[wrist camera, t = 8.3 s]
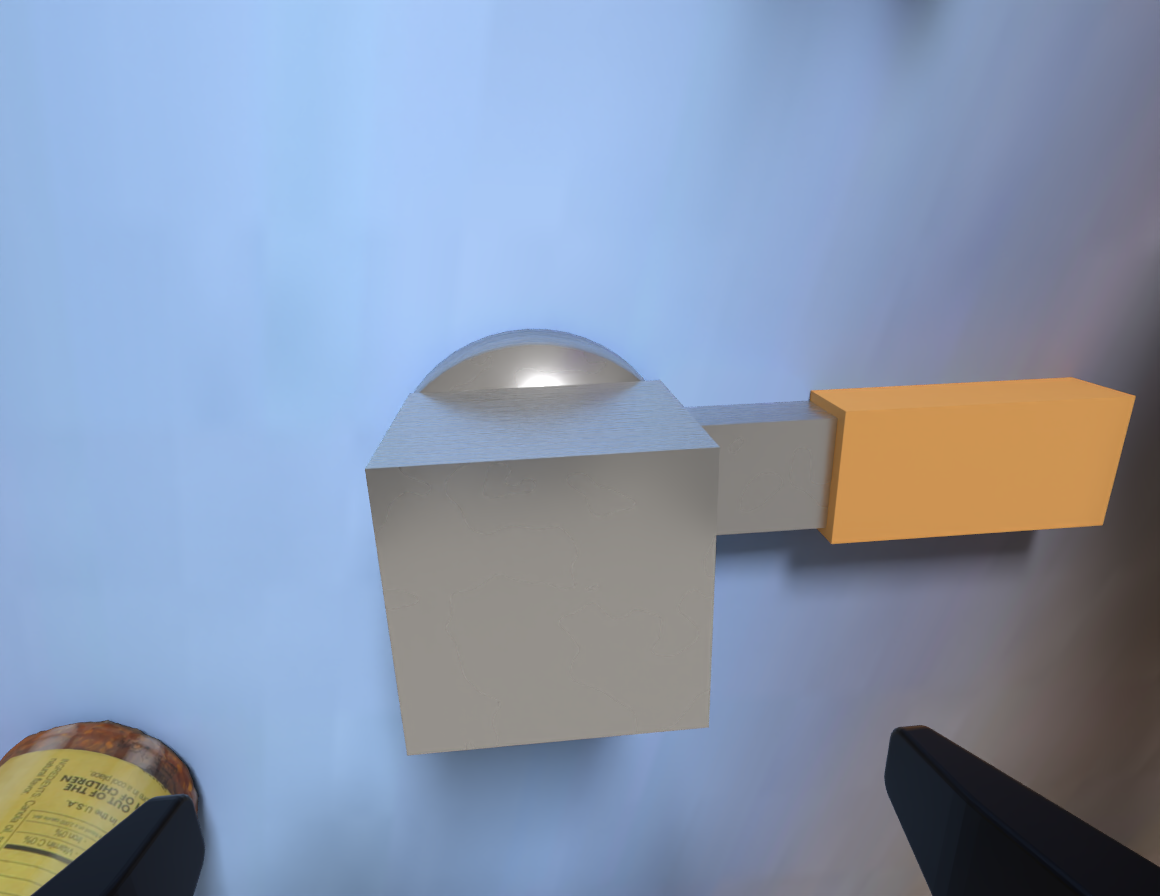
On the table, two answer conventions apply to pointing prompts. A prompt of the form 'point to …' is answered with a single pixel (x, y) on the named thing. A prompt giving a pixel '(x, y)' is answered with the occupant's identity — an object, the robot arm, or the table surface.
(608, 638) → the brushed metal cube
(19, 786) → the sauce bottle
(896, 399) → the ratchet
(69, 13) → the table surface
